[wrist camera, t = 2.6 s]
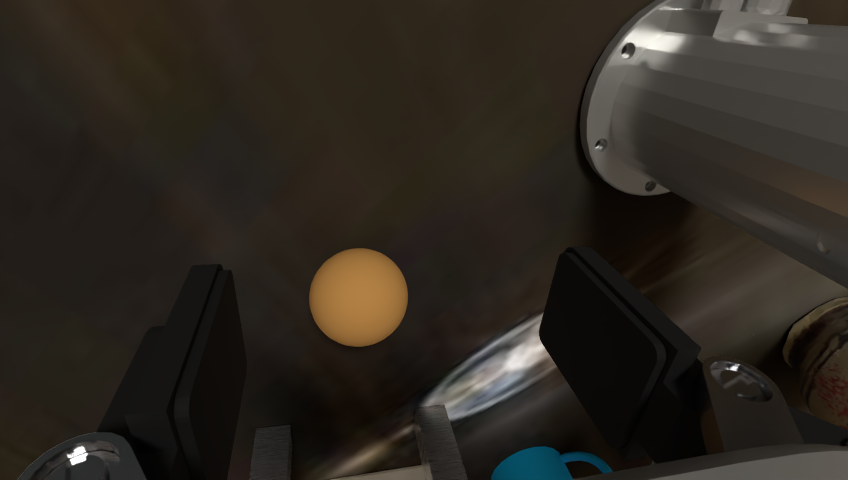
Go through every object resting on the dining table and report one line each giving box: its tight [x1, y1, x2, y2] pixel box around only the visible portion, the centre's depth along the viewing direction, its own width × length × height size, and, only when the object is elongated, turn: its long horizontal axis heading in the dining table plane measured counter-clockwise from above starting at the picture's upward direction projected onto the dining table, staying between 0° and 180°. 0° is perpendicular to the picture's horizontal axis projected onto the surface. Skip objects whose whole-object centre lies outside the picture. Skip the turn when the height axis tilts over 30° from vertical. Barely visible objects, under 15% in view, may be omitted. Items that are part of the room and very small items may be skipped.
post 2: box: [414, 405, 468, 480], centre depth 34 cm, size 3×3×9 cm
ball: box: [309, 248, 408, 347], centre depth 26 cm, size 6×6×6 cm
